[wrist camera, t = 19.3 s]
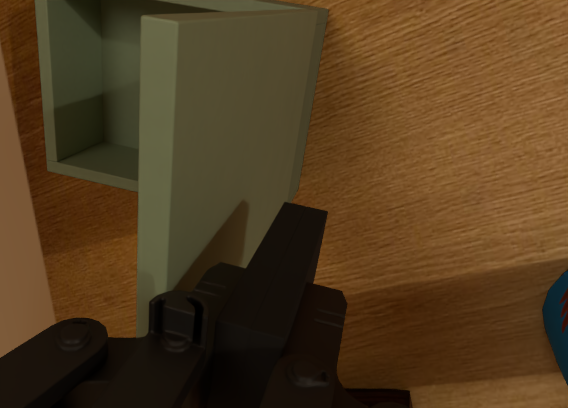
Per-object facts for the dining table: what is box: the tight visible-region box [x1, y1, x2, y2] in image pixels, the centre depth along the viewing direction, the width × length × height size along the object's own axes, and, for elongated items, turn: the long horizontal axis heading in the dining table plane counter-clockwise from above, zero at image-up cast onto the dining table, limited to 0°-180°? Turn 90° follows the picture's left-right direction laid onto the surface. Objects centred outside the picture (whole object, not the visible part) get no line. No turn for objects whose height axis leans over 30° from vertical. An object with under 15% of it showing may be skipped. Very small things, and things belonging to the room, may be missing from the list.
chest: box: [35, 0, 329, 203], centre depth 33 cm, size 18×14×7 cm
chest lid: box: [136, 9, 318, 338], centre depth 20 cm, size 19×14×1 cm
